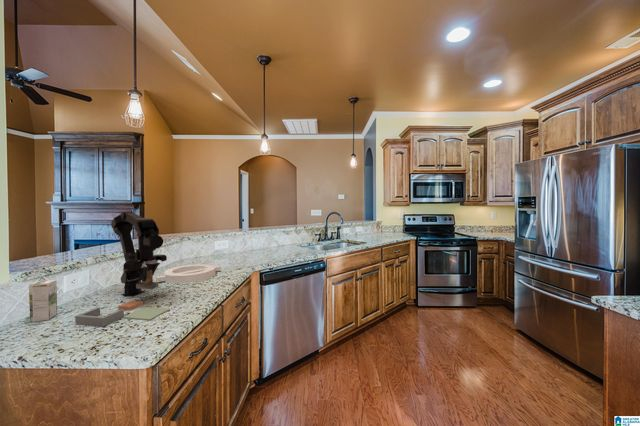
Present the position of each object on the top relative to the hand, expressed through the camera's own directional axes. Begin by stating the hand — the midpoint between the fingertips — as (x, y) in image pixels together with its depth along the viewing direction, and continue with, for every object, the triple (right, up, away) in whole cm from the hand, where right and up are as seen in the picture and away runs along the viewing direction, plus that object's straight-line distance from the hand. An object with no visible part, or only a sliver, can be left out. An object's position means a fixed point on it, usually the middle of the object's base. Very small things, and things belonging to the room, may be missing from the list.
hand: (147, 280), depth 123 cm
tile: (-1, -10, -9) cm, 13 cm away
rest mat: (+10, -10, -16) cm, 21 cm away
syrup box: (-28, -10, -19) cm, 35 cm away
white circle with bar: (+1, -8, +39) cm, 40 cm away
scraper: (0, -4, 0) cm, 4 cm away
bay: (-4, -10, -21) cm, 24 cm away
